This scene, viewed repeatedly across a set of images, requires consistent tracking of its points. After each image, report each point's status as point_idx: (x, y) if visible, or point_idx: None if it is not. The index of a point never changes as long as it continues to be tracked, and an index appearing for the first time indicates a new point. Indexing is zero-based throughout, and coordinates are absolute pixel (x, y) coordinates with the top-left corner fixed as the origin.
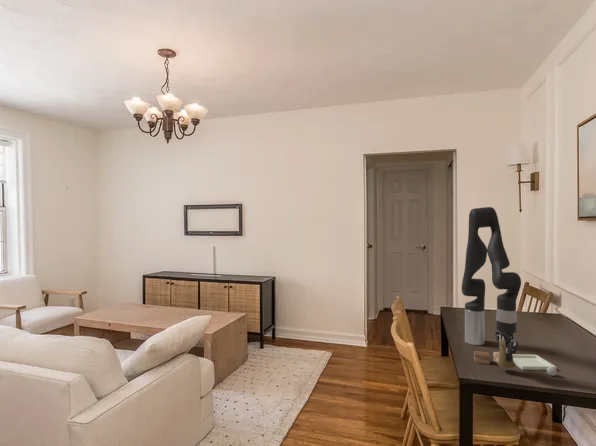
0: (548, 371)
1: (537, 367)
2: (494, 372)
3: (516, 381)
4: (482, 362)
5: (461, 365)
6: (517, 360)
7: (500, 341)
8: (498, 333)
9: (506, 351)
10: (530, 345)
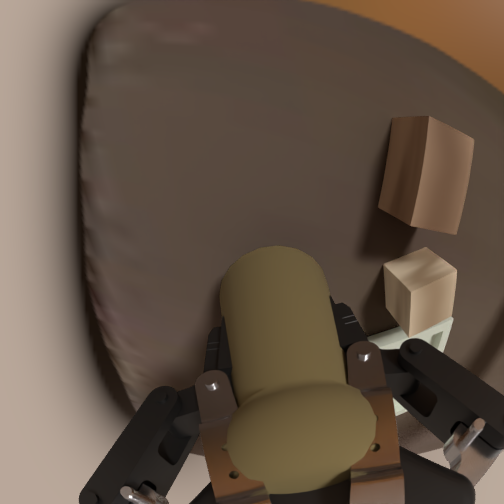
0: None
1: None
2: (235, 196)
3: (129, 289)
4: (389, 164)
5: (318, 13)
6: None
7: (296, 449)
8: (488, 442)
9: (212, 387)
10: (484, 378)
